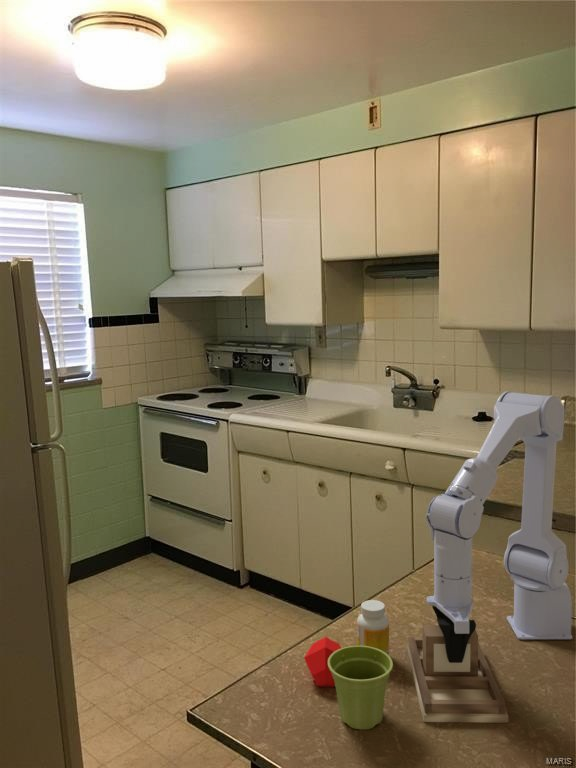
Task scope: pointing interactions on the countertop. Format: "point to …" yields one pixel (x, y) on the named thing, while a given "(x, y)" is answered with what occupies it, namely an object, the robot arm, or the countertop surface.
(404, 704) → the countertop surface
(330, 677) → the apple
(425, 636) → the frame block
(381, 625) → the supplement bottle
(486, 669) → the notch rack
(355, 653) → the plant pot
